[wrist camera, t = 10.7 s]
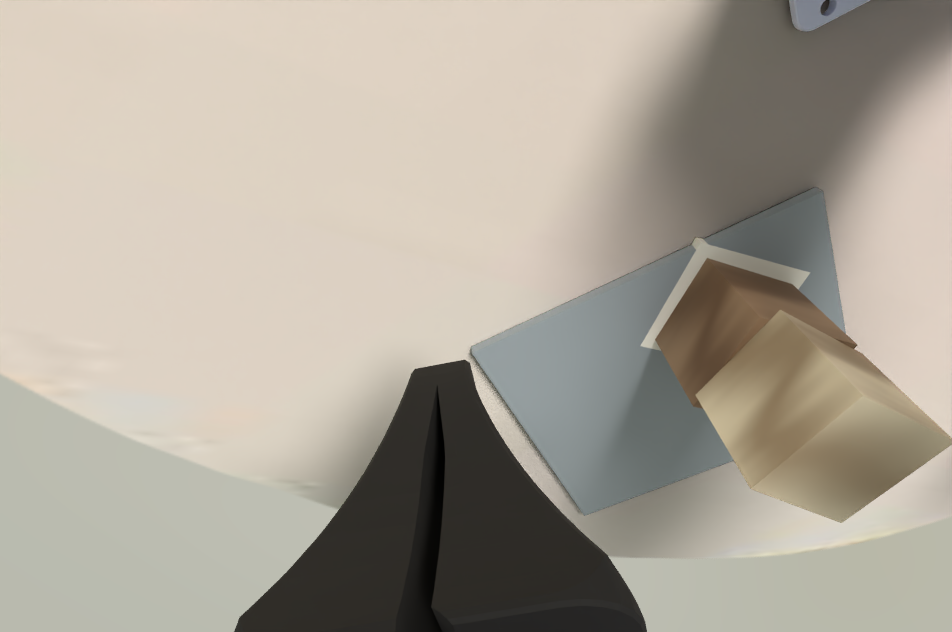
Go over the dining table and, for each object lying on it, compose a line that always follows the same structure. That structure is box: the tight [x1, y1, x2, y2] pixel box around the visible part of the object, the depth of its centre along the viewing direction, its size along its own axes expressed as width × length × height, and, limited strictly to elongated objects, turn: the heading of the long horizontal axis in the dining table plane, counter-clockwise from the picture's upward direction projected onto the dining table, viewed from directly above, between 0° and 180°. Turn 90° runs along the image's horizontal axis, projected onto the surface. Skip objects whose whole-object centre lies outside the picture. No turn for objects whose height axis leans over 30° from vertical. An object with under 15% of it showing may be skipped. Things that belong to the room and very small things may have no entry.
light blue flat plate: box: [471, 187, 846, 516], centre depth 27 cm, size 16×15×1 cm
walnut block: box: [655, 258, 857, 409], centre depth 23 cm, size 4×4×4 cm
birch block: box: [696, 310, 952, 523], centre depth 19 cm, size 4×4×4 cm
